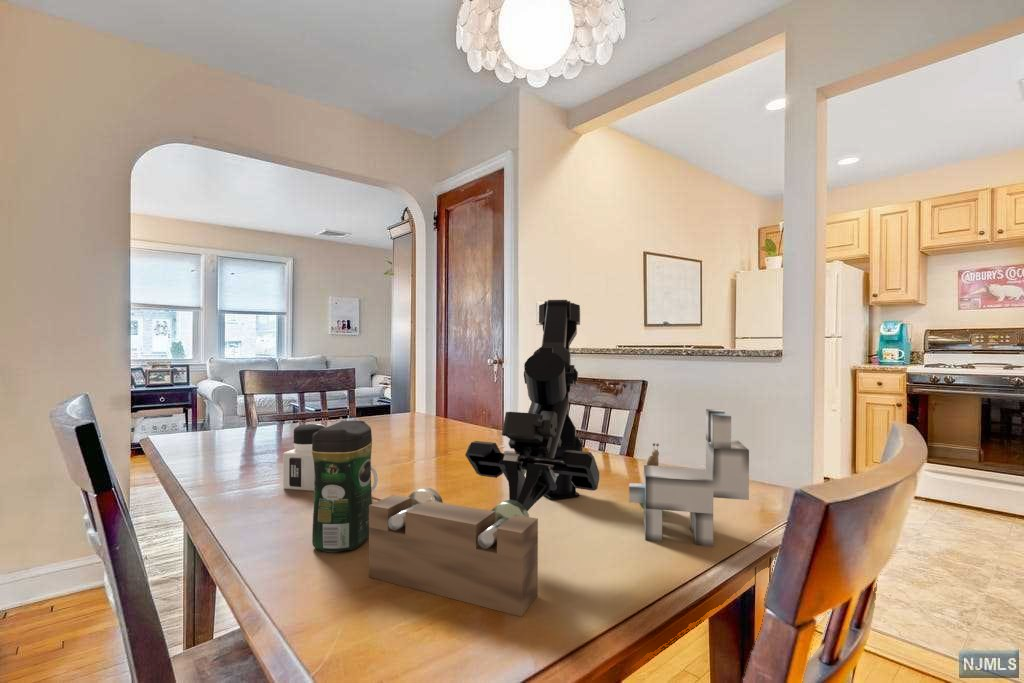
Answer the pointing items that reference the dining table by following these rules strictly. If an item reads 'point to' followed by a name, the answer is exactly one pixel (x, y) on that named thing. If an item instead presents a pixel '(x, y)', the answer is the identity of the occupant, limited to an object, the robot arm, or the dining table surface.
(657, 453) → the snail figurine
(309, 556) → the dining table surface
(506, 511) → the knob sage
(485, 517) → the block
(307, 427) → the container
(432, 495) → the silver rounded piece
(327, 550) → the coffee jar
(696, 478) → the toy llama
